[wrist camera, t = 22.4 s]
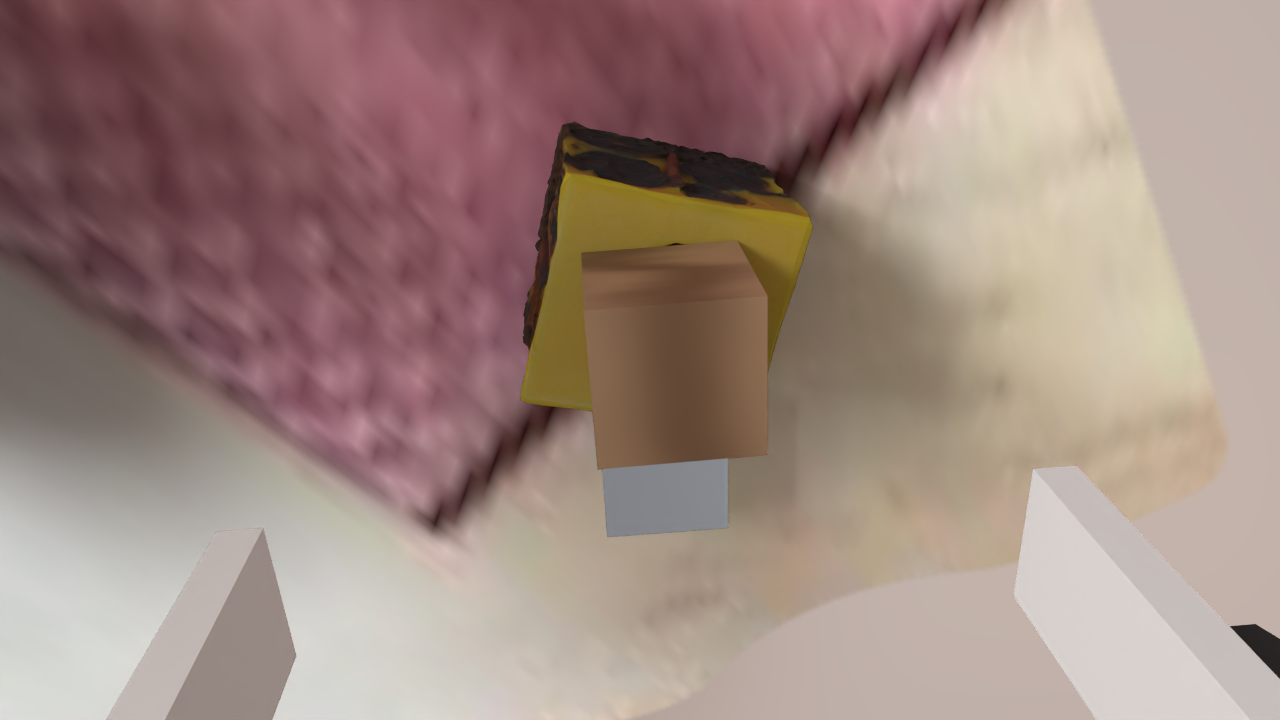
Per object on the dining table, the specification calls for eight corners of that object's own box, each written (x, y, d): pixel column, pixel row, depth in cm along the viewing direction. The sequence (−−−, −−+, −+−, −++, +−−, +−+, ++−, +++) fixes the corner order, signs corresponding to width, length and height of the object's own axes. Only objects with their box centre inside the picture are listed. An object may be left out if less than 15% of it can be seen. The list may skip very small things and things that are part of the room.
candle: (522, 316, 47) (511, 407, 38) (557, 116, 43) (554, 166, 34) (716, 349, 49) (750, 445, 39) (768, 159, 45) (818, 218, 35)
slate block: (602, 472, 51) (607, 537, 46) (596, 374, 49) (599, 430, 43) (710, 464, 51) (728, 528, 46) (710, 367, 49) (728, 421, 43)
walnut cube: (593, 392, 38) (597, 469, 33) (581, 252, 35) (583, 310, 30) (739, 380, 38) (767, 454, 33) (737, 240, 36) (767, 296, 30)
